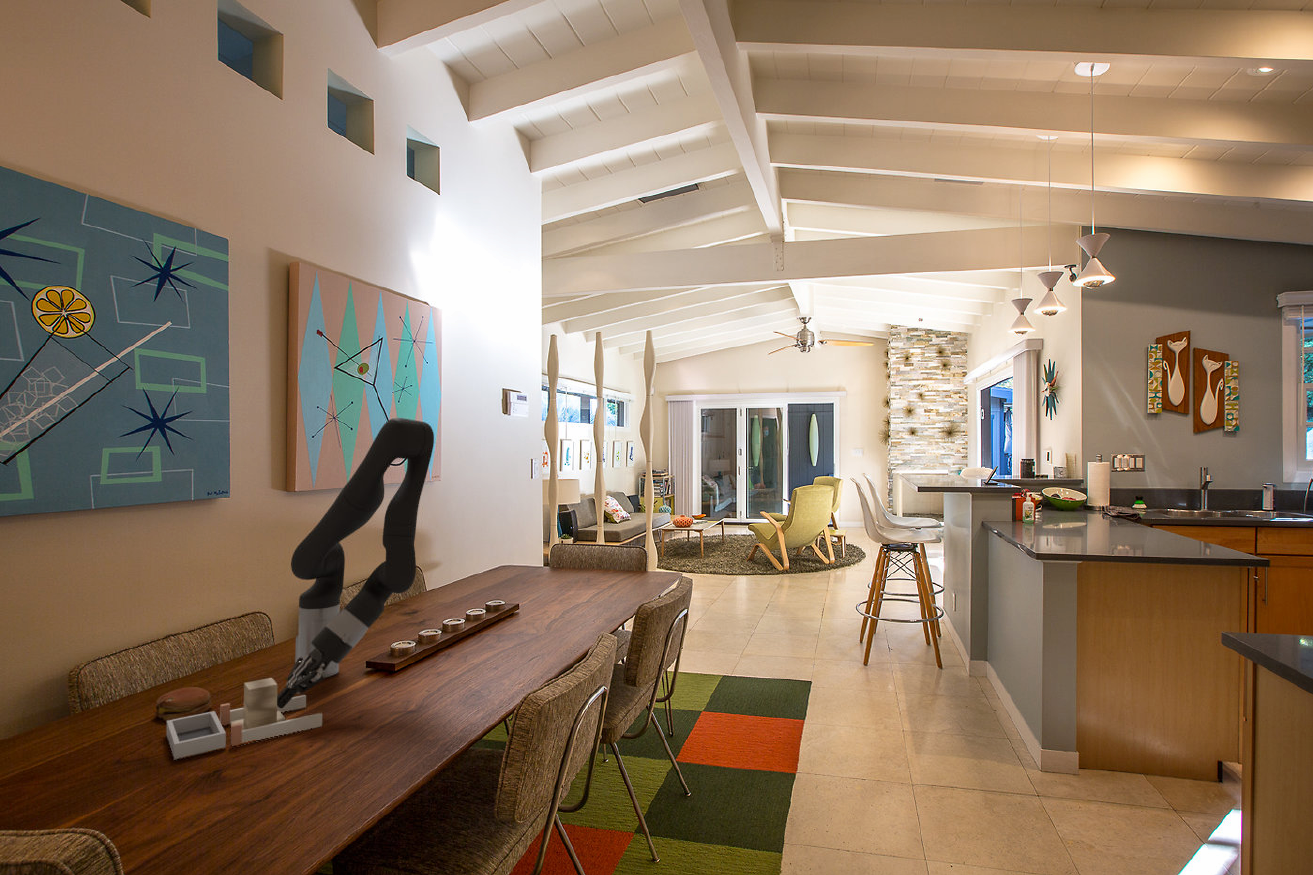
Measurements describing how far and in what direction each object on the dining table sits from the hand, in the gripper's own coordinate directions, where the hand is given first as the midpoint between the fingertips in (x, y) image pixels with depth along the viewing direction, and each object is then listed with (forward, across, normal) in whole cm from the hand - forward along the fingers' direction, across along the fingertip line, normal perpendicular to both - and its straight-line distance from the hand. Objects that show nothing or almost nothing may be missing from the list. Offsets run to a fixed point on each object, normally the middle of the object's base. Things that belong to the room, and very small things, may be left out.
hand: (276, 705), depth 143 cm
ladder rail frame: (+3, 0, +2) cm, 4 cm away
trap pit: (+13, 0, -7) cm, 15 cm away
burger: (+13, -19, -7) cm, 24 cm away
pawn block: (+5, 0, +1) cm, 5 cm away
